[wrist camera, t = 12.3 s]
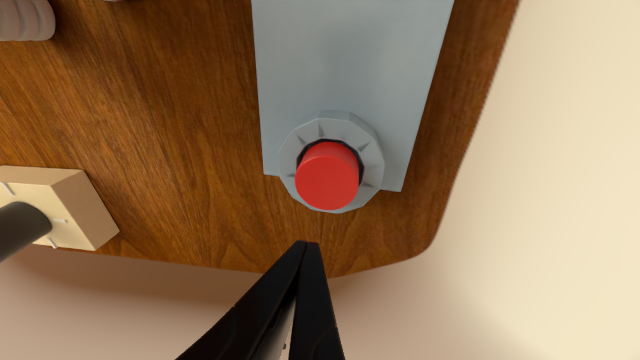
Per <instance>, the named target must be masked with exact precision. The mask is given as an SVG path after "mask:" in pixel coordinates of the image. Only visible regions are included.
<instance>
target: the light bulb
mask: <svg viewBox="0 0 640 360" xmlns="http://www.w3.org/2000/svg"><path fill="white" fill-rule="evenodd" d="M54 31H55V16H54V12H53V9H52V8H51V6H50V4H49V2H48V1H47V0H0V41H10V40H16V41H27V40H34V41H42V40H47V39H49V38H51V36H52V35H53V34H54Z"/></svg>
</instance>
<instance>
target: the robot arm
mask: <svg viewBox="0 0 640 360" xmlns="http://www.w3.org/2000/svg"><path fill="white" fill-rule="evenodd" d="M234 307H235V308H234ZM234 307H232V308H231V309H230V310H229V311H228V312H227V313H226V314H225V315H224V316H223V317H222V318H221V319H220V320H219V321H218V322H217V323H216V324H215V325H214V326H213V327H212V328H211V329H210V330H208V331H207V332H206V333H205V334H204V335H203V336H202V337H201V338H200V339H198V340H197V341H196V342H195V343H194V344H193V345H192V346H190V347H189V348H188V349H187V350H186V351H185V352H184V353H182V354H181V355H180V356H179V357H178V358H176V359H175V360H279V359H280V356H281V352H282V350H283V349H286V344H285V340H286V337H287V334H288V331H289V328H290V325H291V322H292V319H293V326H292V334H291V342H290V350H289V358H288V360H345V357H344V353H343V349H342V345H341V341H340V337H339V332H338V328H337V324H336V319H335V315H334V311H333V306H332V301H331V297H330V292H329V288H328V284H327V279H326V274H325V270H324V265H323V261H322V256H321V252H320V247H319V244H318V243H316V242H307V241H303V240H297V241H296V242H295V243H294V244H293V245H292V246H291V247H290V248H289V249H288V250H287V251H286V252H285V253H284V254H283V255H282V256H281V257H280V258H279V259H278V260H277V261H276V262H275V263H274V264H273V265H272V266H271V268H270V269H269V270H268V271H267V272H266V273H265V274H264V275H263V276H262V277H261V278H260V279H259V280H258V281H257V282H256V283H255V284H254V285H253V286H252V287H251V288H250V289H249V290H248V291H247V292H246V293H245V294H244V296H243V297H241V298H240V300H239V301H238V302H237V303H236V304H235V305H234ZM293 316H294V318H293Z"/></svg>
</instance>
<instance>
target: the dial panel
mask: <svg viewBox="0 0 640 360" xmlns="http://www.w3.org/2000/svg"><path fill="white" fill-rule="evenodd" d="M15 201H18V202H23V203H26V204H28V205H31V206H32V207H34V208H36V209H37V210H39V211H40V212H41V213H42V214H43V215H44V216H45V217H46V218H47V219H48V220H49V222H50V223H51V226H52V230H51V231H50V232H49V233H48V234H46V235H44V236H43V237H41V238H40V239H38V240H36V241H35V242H33V244H42V245H50V246H52V247H53V248H58V247H57V246H59V247H68V248H77V249H86V250H94V251H96V250H97V249H98V248H100V247H101V246H102V245H103V244H105V243H106V242H107V241H108V240H110V239H111V238H112V237H113V236H115V235H116V234H117V233H118V232H120V230H119V229H118V227H117V225H116V224H115V222H114V220H113V219H112V217H111V215H110V214H109V212H108V210H107V209H106V207H105V205H104V204H103V202H102V200H101V199H100V197H99V195H98V194H97V192H96V190H95V189H94V187H93V185H92V184H91V182H90V180H89V179H88V177H87V175H86V174H85V172H84V170H75V169H57V168H39V167H21V166H0V208H1V207H3V206H5V205H7V204H9V203H11V202H15Z"/></svg>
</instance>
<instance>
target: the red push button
mask: <svg viewBox="0 0 640 360" xmlns="http://www.w3.org/2000/svg"><path fill="white" fill-rule="evenodd" d="M358 185H359V164H358V161H357V158H356V156H355V155H354V154H353V152H352V151H351V150H350V149H348V148H347V147H346V146H344V145H342V144H339V143H336V142H322V143H318V144H316V145H314V146H312V147H311V148H310V149H309V150H308V151H307V152H306V153H305V155H304V157H303V159H302V161H301V163H300V165H299V167H298V169H297V171H296V174H295V187H296V190H297V192H298V194H299V195H300V197H301V198H302V199H303V200H304V201H305V202H306V203H308V204H309V205H311V206H312V207H315V208H318V209H321V210H336V209H340V208H343V207H345V206H346V205H348V204H349V203H350V202H351V201H352V200H353V199H354V198H355V196H356V194H357V191H358Z"/></svg>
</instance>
